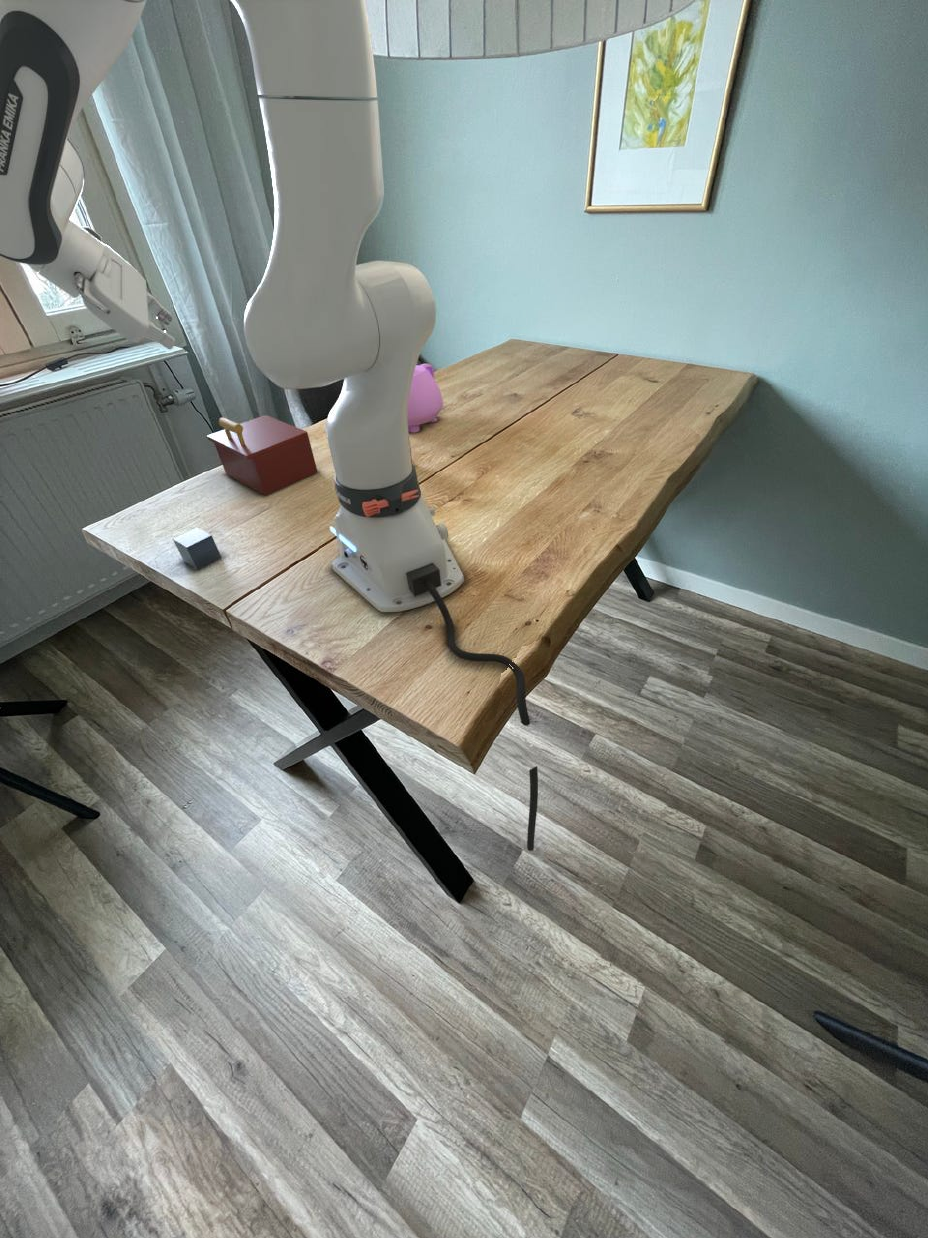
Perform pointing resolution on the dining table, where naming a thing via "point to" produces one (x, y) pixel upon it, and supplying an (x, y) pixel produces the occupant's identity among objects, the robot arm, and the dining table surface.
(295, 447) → the red hinged box
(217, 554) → the block
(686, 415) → the dining table surface
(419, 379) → the pink piggy bank
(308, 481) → the dining table surface
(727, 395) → the dining table surface
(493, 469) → the dining table surface
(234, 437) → the cover
